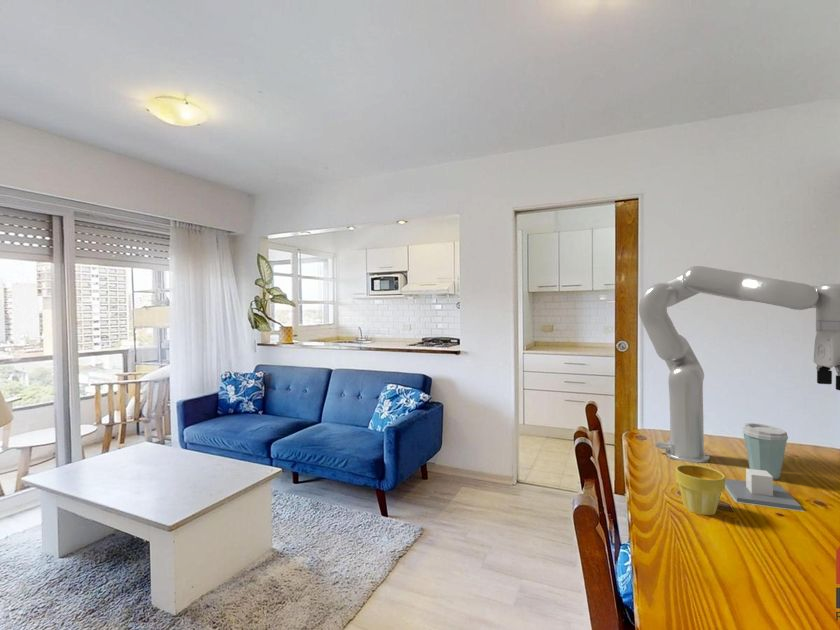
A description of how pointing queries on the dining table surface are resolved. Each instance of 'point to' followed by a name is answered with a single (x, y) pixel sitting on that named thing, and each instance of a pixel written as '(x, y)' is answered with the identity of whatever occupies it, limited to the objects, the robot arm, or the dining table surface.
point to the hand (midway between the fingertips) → (833, 386)
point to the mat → (758, 504)
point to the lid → (761, 490)
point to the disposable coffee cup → (765, 447)
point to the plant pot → (700, 488)
